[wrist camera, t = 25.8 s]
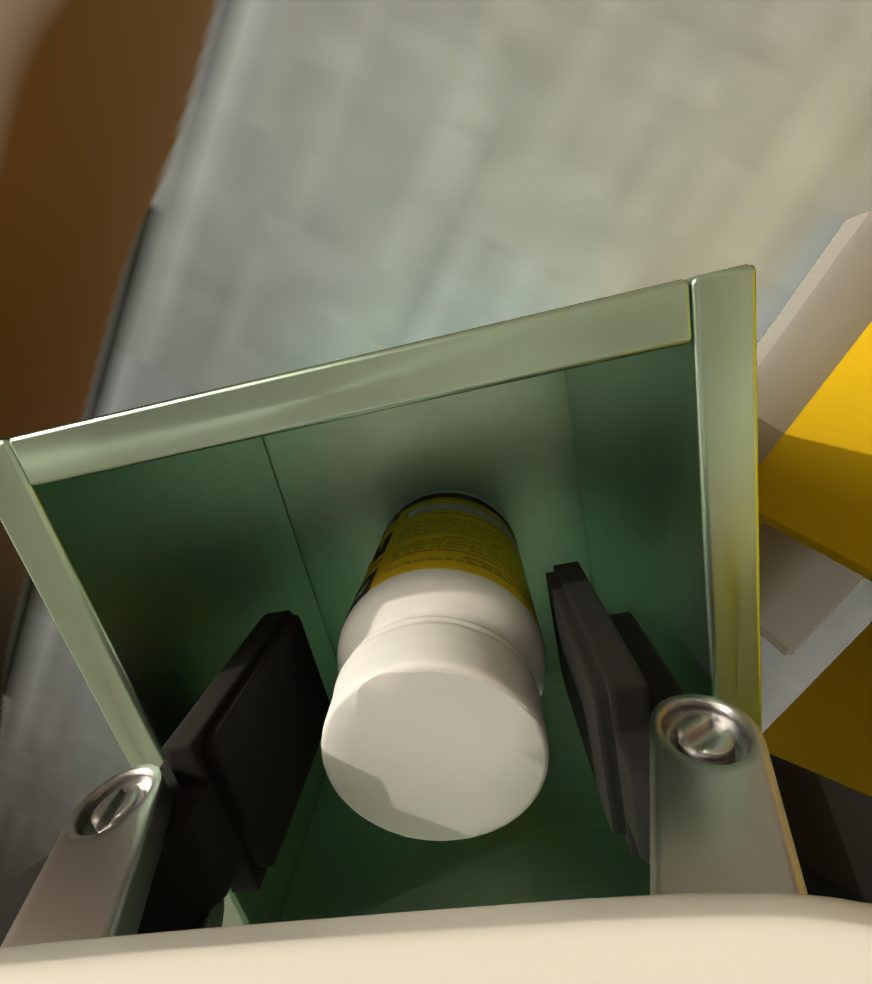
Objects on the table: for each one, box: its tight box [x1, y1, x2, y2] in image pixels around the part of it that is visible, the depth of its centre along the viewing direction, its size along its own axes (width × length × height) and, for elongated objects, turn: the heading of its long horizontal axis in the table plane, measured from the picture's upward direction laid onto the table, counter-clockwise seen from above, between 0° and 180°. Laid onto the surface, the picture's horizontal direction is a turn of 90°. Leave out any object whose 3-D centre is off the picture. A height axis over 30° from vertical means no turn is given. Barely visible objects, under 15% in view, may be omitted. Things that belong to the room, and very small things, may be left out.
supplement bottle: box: [321, 490, 549, 841], centre depth 11 cm, size 5×5×8 cm
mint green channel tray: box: [0, 264, 762, 927], centre depth 12 cm, size 13×12×9 cm
